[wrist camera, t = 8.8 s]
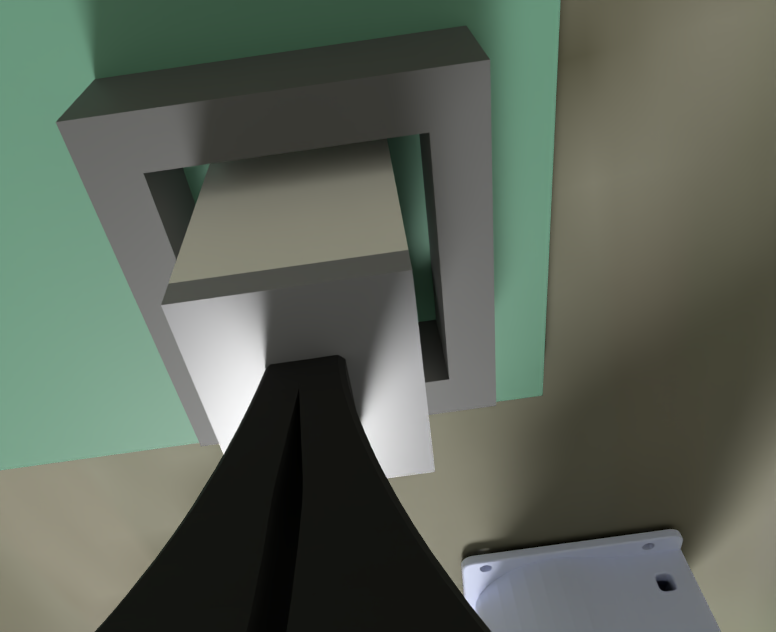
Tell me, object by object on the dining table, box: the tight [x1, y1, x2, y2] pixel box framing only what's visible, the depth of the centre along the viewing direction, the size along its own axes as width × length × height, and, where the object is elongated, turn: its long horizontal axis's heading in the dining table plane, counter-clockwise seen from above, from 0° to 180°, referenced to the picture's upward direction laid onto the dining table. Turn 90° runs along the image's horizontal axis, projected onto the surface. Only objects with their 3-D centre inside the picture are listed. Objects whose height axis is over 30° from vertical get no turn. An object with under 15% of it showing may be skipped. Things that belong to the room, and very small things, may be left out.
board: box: [0, 0, 560, 470], centre depth 16 cm, size 22×14×4 cm, turn 97°
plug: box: [161, 139, 435, 478], centre depth 14 cm, size 4×5×6 cm
